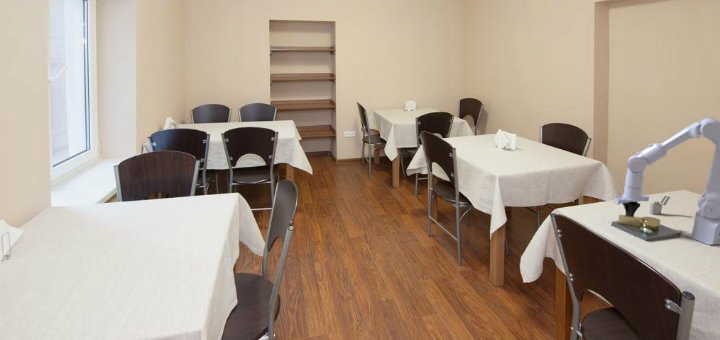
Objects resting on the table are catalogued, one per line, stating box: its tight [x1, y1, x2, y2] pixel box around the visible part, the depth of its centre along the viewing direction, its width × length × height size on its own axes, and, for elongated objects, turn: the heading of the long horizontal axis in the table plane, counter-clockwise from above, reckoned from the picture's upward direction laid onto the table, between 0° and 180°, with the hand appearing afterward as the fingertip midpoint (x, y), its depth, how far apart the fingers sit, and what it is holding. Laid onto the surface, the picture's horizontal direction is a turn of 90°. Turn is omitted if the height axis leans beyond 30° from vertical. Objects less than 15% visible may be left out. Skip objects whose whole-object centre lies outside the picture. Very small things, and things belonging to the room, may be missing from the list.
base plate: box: [610, 220, 682, 242], centre depth 172 cm, size 16×16×3 cm
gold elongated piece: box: [618, 213, 661, 230], centre depth 172 cm, size 14×6×3 cm, turn 62°
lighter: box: [649, 194, 671, 215], centre depth 190 cm, size 7×2×8 cm, turn 96°
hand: (628, 219), depth 176 cm, fingers closed, pressing on gold elongated piece
